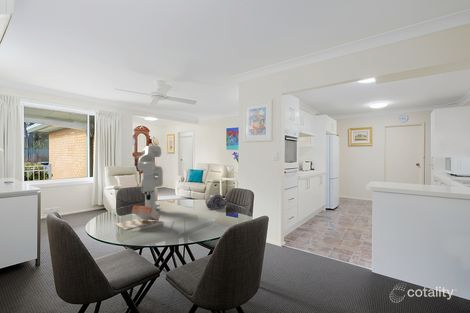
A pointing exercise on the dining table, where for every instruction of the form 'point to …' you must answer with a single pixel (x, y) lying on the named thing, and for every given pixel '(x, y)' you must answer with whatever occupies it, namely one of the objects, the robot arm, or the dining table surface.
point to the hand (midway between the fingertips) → (148, 199)
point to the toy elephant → (215, 201)
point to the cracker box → (146, 213)
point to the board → (133, 223)
